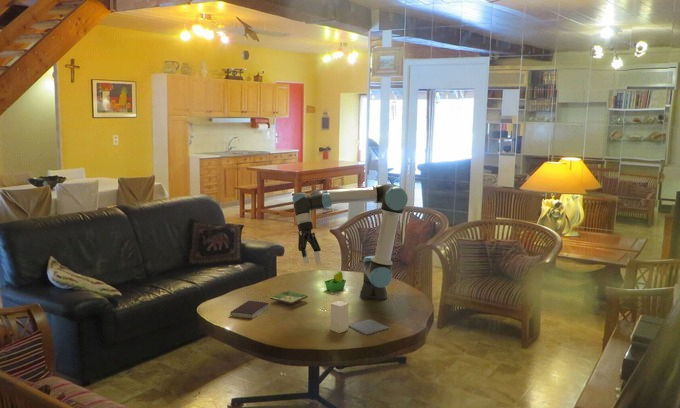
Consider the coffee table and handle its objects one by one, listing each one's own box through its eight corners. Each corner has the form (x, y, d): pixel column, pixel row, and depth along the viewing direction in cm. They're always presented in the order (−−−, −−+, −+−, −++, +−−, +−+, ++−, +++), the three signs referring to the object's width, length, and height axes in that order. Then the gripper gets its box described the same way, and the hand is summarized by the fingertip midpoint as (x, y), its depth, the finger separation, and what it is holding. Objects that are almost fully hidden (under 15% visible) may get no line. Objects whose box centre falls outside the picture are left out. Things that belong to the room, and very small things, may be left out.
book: (230, 317, 297) (229, 310, 297) (248, 305, 315) (248, 299, 315) (252, 320, 293) (252, 314, 293) (269, 308, 311) (269, 302, 311)
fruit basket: (337, 285, 350) (337, 267, 349) (348, 289, 344) (348, 270, 343) (323, 289, 342) (323, 270, 341) (334, 293, 336) (334, 274, 334)
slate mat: (370, 320, 293) (370, 319, 293) (389, 328, 282) (389, 327, 282) (347, 326, 285) (347, 325, 285) (366, 335, 274) (366, 333, 274)
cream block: (338, 326, 284) (339, 300, 282) (348, 329, 280) (348, 303, 278) (330, 329, 280) (330, 303, 278) (339, 333, 276) (339, 306, 274)
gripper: (309, 227, 314) (317, 266, 309) (286, 222, 291) (294, 264, 286) (321, 223, 311) (329, 262, 306) (299, 218, 288) (307, 261, 284)
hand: (312, 263), depth 296 cm, fingers open, 13 cm apart
